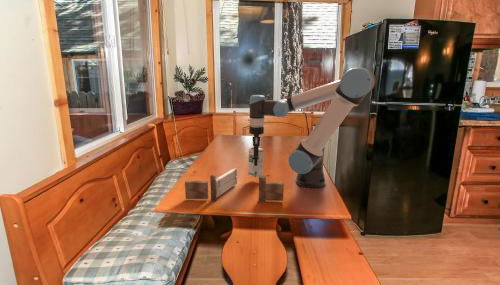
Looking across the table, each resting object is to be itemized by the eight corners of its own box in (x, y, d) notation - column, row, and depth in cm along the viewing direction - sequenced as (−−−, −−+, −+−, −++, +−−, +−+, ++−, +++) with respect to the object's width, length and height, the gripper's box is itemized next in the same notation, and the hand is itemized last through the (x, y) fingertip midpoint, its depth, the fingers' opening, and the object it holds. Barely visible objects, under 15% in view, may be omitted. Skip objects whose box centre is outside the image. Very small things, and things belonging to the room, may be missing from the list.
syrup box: (247, 174, 154) (248, 148, 151) (255, 172, 158) (255, 146, 155) (255, 177, 150) (255, 150, 147) (263, 175, 154) (263, 148, 151)
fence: (282, 200, 133) (283, 175, 130) (283, 203, 130) (284, 178, 127) (187, 198, 134) (185, 173, 131) (185, 201, 131) (184, 176, 128)
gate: (217, 196, 133) (217, 180, 131) (214, 195, 134) (213, 180, 132) (236, 183, 149) (236, 169, 147) (233, 182, 150) (233, 168, 148)
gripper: (249, 122, 158) (249, 161, 163) (248, 130, 138) (247, 175, 143) (263, 122, 158) (262, 162, 163) (264, 130, 137) (263, 175, 143)
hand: (255, 168), depth 153 cm, fingers closed on syrup box, 8 cm apart
